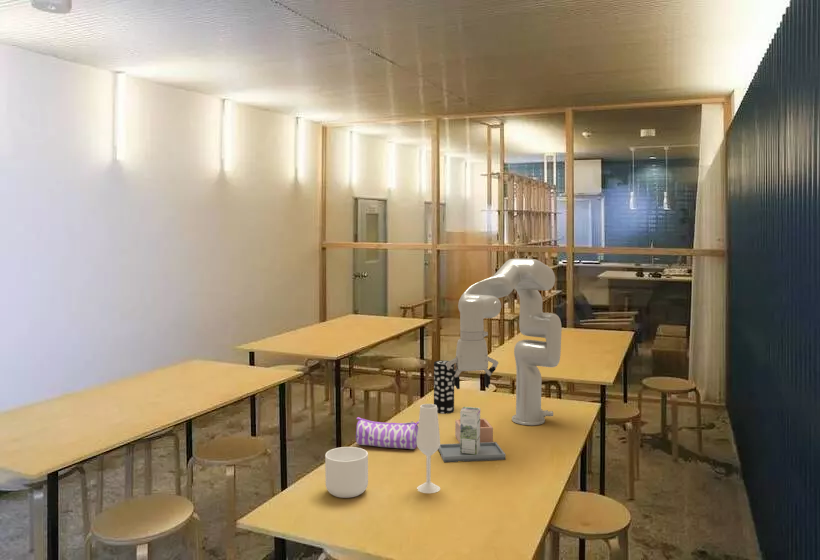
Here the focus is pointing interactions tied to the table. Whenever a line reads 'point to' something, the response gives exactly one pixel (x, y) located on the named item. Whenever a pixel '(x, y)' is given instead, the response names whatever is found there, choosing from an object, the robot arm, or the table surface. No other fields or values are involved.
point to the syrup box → (470, 430)
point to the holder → (485, 431)
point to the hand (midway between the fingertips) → (472, 387)
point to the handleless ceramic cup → (346, 471)
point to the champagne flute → (428, 442)
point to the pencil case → (387, 434)
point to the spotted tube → (443, 387)
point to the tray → (486, 453)
